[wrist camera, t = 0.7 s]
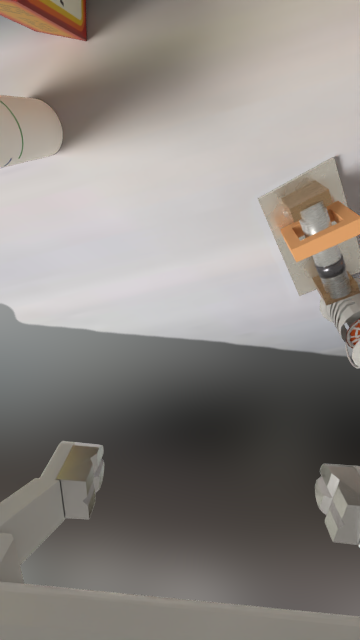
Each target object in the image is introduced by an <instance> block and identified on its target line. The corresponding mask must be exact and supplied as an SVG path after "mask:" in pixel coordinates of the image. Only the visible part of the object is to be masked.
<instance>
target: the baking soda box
mask: <svg viewBox="0 0 360 640" xmlns="http://www.w3.org/2000/svg"><path fill="white" fill-rule="evenodd" d="M0 15H2V16H4V17H6V18H8V19H10V20H12V21H14V22H17V23H19V24H21V25H23V26H25V27H27V28H30V29H32V30H34V31H37V32H42V33H47V34H52V35H57V36H62V37H68V38H73V39H78V40H83V41H87V32H86V0H0Z"/></svg>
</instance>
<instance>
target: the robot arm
mask: <svg viewBox="0 0 360 640" xmlns="http://www.w3.org/2000/svg"><path fill="white" fill-rule="evenodd" d="M102 455H103V446H102V445H96V444H87V443H78V442H67V441H62V442H61V443H60V444H59V445H58V447H57V449H56V451H55V452H54V454H53V456H52V458H51V459H50V461H49V463H48V465H47V466H46V468H45V470H44V472H43V474H42V475H41V477H40V478H35V479H34V480H32V481H31V482H29V483H28V484H27V485H25V486H24V487H22V488H21V489H19V490H18V491H17V492H15V493H14V494H12V495H11V496H9V497H8V498H7V499H5V500H4V501H2V502H1V503H0V640H360V617H358V616H348V615H337V614H327V613H318V612H307V611H297V610H287V609H277V608H266V607H257V606H247V605H237V604H226V603H215V602H206V601H196V600H185V599H175V598H165V597H153V596H145V595H134V594H124V593H114V592H103V591H93V590H84V589H73V588H63V587H53V586H43V585H32V584H24V580H23V576H22V571H21V567H20V565H21V564H22V563H23V562H24V561H25V560H26V559H27V558H28V557H29V556H30V555H31V554H32V553H33V552H34V551H35V550H36V549H37V548H38V547H39V545H41V544H42V543H43V542H44V540H45V539H46V538H47V537H48V536H49V535H50V534H51V533H52V532H53V531H54V530H55V529H56V528H57V527H58V526H59V525H60V524H61V523H62V522H63V521H64V520H65V518H74V519H90V516H91V513H92V510H93V507H94V504H95V501H96V500H95V493H96V492H97V491H98V490H99V489H100V486H101V483H102V479H103V474H104V461H103V460H102V459H101V458H102ZM320 473H321V475H322V477H320V478H319V479H317V481H316V485H315V496H316V501H317V504H318V506H319V508H320V510H321V511H322V512H323V513H324V514H325V515H326V519H325V524H326V526H327V529H328V531H329V534H330V536H331V538H332V541H333V542H338V543H346V544H354V545H359V547H360V466H349V465H336V464H323V465H322V466H321V469H320Z"/></svg>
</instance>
